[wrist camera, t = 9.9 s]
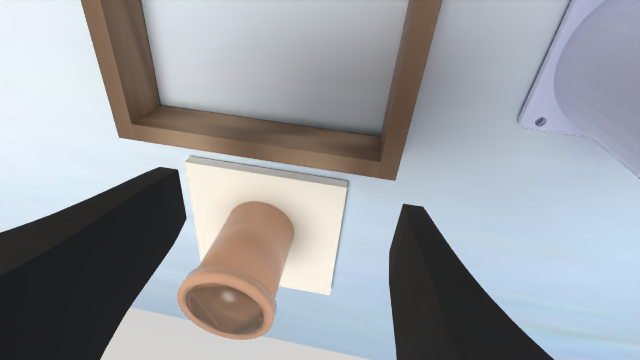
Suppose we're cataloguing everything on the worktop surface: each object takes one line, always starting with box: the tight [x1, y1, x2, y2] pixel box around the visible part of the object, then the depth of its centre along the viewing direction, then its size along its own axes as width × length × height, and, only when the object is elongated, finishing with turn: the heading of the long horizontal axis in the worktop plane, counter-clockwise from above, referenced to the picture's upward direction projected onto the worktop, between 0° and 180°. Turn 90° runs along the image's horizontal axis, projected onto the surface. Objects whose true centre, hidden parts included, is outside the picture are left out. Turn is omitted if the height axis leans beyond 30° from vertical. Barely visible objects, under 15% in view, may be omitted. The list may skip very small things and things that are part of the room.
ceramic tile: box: [185, 156, 348, 295], centre depth 25 cm, size 11×11×1 cm
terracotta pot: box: [177, 201, 294, 340], centre depth 22 cm, size 6×6×7 cm
